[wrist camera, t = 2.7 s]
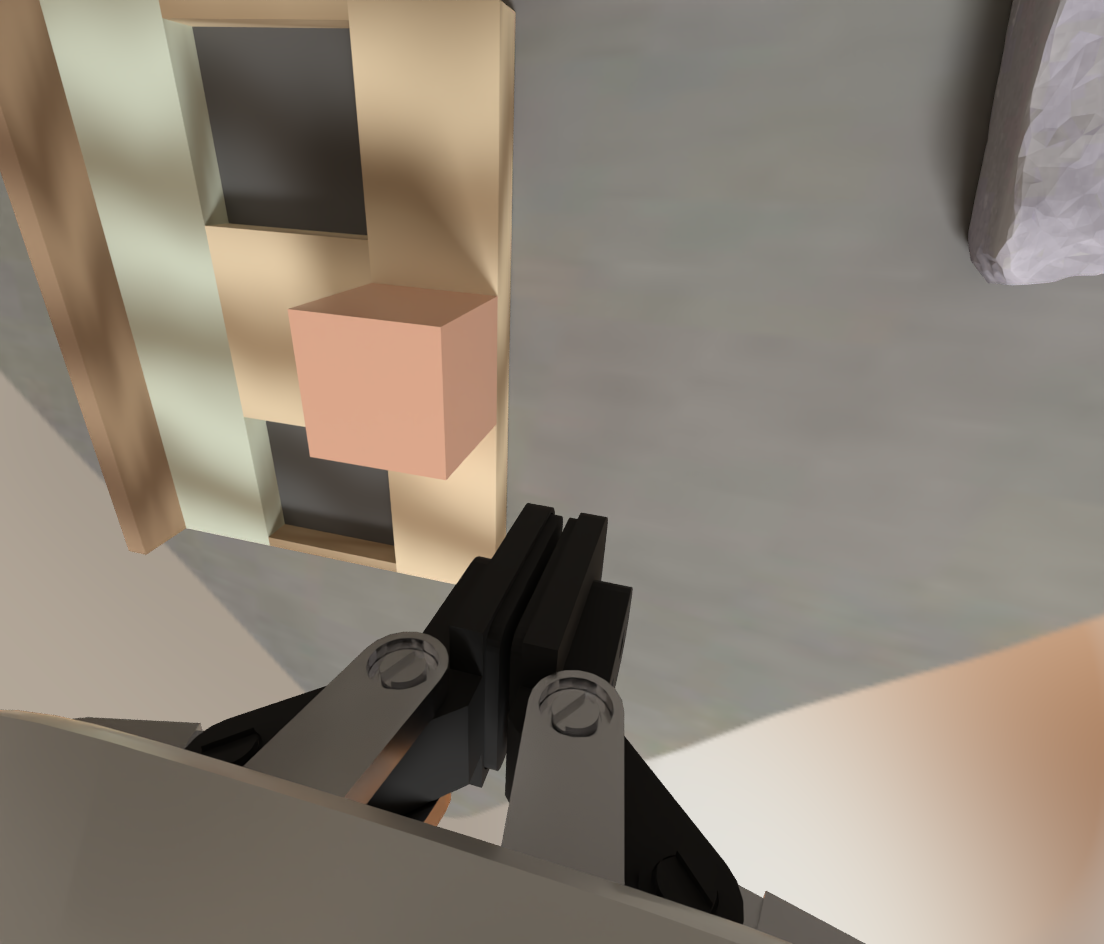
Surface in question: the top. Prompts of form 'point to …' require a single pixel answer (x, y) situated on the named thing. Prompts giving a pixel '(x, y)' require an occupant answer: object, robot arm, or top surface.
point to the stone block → (1044, 149)
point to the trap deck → (259, 244)
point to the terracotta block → (397, 376)
